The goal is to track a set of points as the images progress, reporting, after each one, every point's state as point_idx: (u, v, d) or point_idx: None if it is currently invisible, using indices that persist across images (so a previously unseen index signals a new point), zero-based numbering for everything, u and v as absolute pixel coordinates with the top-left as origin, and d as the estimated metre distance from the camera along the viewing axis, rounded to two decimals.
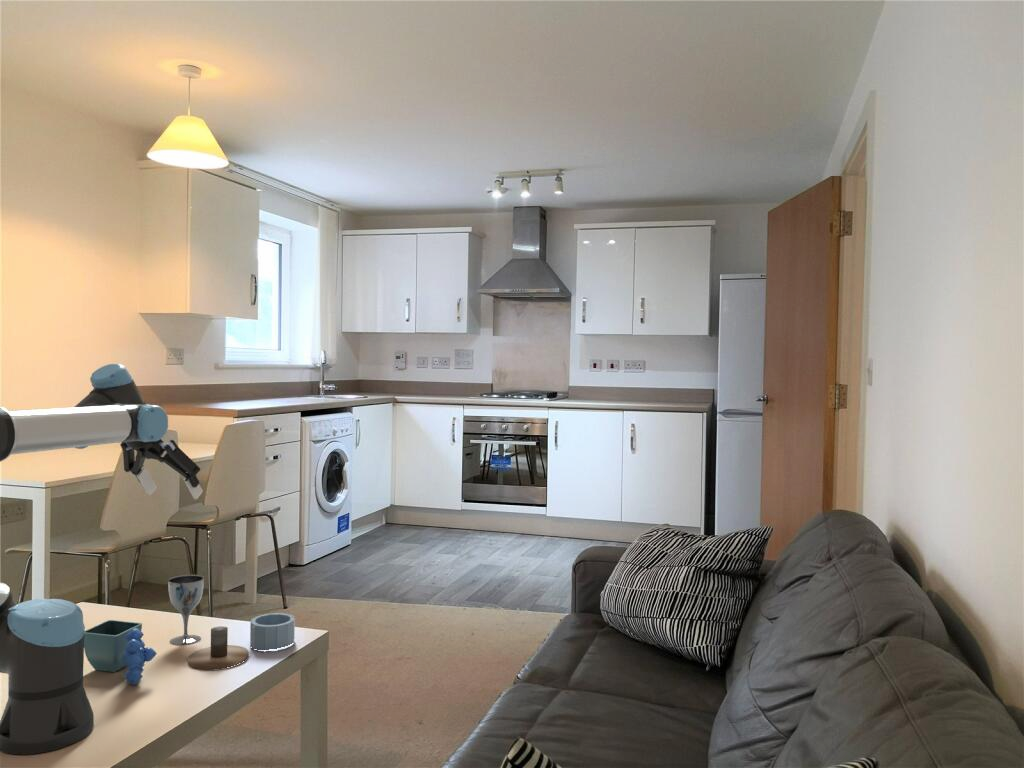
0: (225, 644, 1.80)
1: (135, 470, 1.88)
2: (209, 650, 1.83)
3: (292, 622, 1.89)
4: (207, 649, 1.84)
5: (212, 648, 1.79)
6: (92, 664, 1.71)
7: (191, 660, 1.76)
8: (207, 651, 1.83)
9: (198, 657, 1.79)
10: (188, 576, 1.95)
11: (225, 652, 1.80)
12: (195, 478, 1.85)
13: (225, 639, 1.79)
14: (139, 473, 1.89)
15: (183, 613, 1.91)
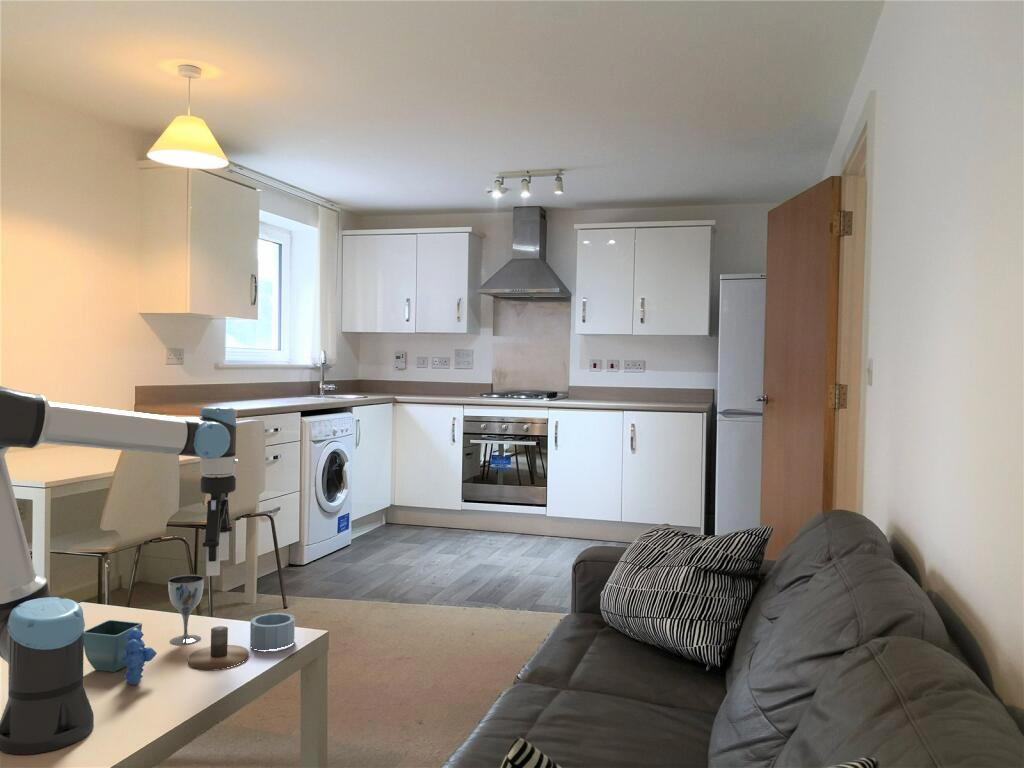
0: (225, 644, 1.80)
1: None
2: (209, 650, 1.83)
3: (292, 622, 1.89)
4: (207, 649, 1.84)
5: (212, 648, 1.79)
6: (92, 664, 1.71)
7: (191, 660, 1.77)
8: (207, 650, 1.83)
9: (198, 656, 1.79)
10: (188, 576, 1.95)
11: (225, 652, 1.80)
12: (213, 552, 1.72)
13: (225, 639, 1.79)
14: (219, 532, 1.86)
15: (183, 613, 1.91)
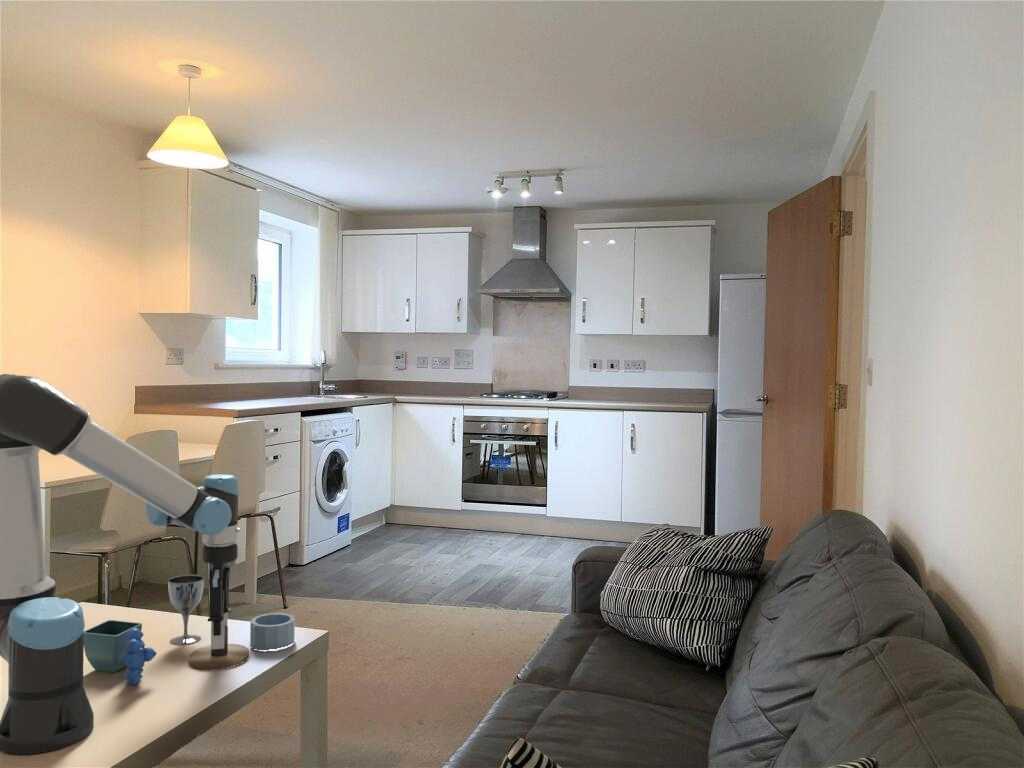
0: (225, 643, 1.80)
1: None
2: (210, 648, 1.83)
3: (292, 622, 1.89)
4: (208, 647, 1.84)
5: None
6: (92, 664, 1.71)
7: (191, 658, 1.77)
8: (207, 649, 1.83)
9: (199, 655, 1.79)
10: (187, 576, 1.95)
11: (225, 651, 1.80)
12: (217, 626, 1.77)
13: (225, 638, 1.80)
14: None
15: (183, 613, 1.91)
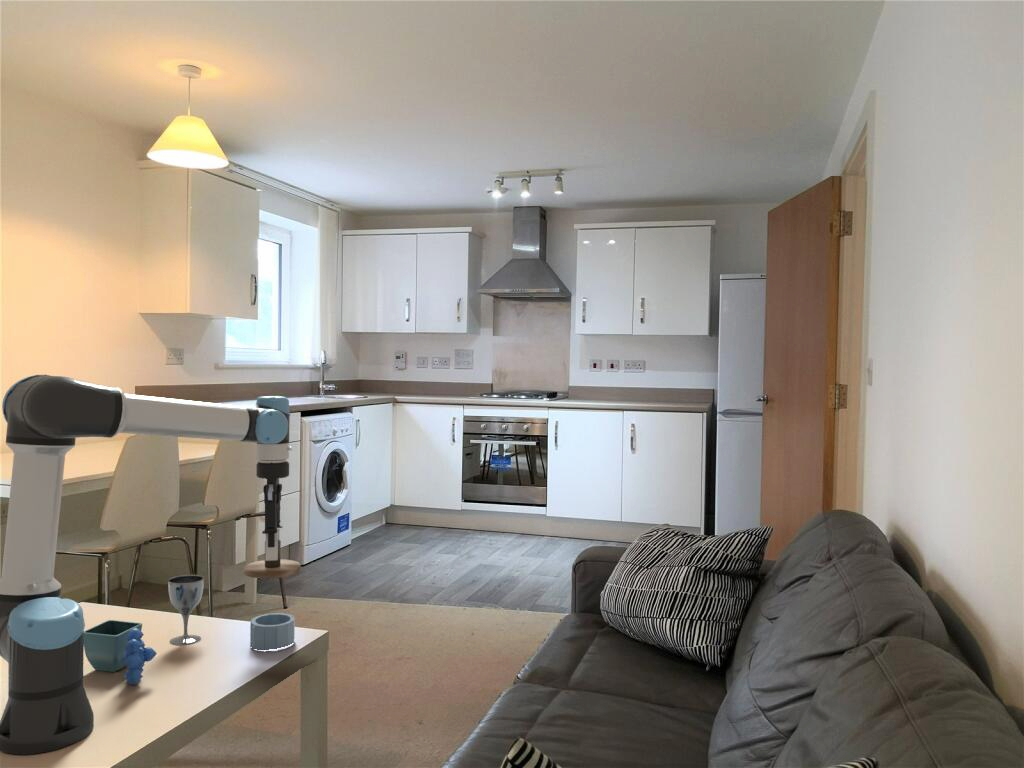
0: (278, 555, 1.89)
1: None
2: (263, 562, 1.92)
3: (292, 622, 1.89)
4: (261, 562, 1.93)
5: None
6: (92, 664, 1.71)
7: (247, 569, 1.86)
8: (261, 563, 1.92)
9: (253, 567, 1.88)
10: (188, 576, 1.95)
11: (278, 563, 1.89)
12: (271, 538, 1.86)
13: (278, 550, 1.89)
14: None
15: (183, 613, 1.91)
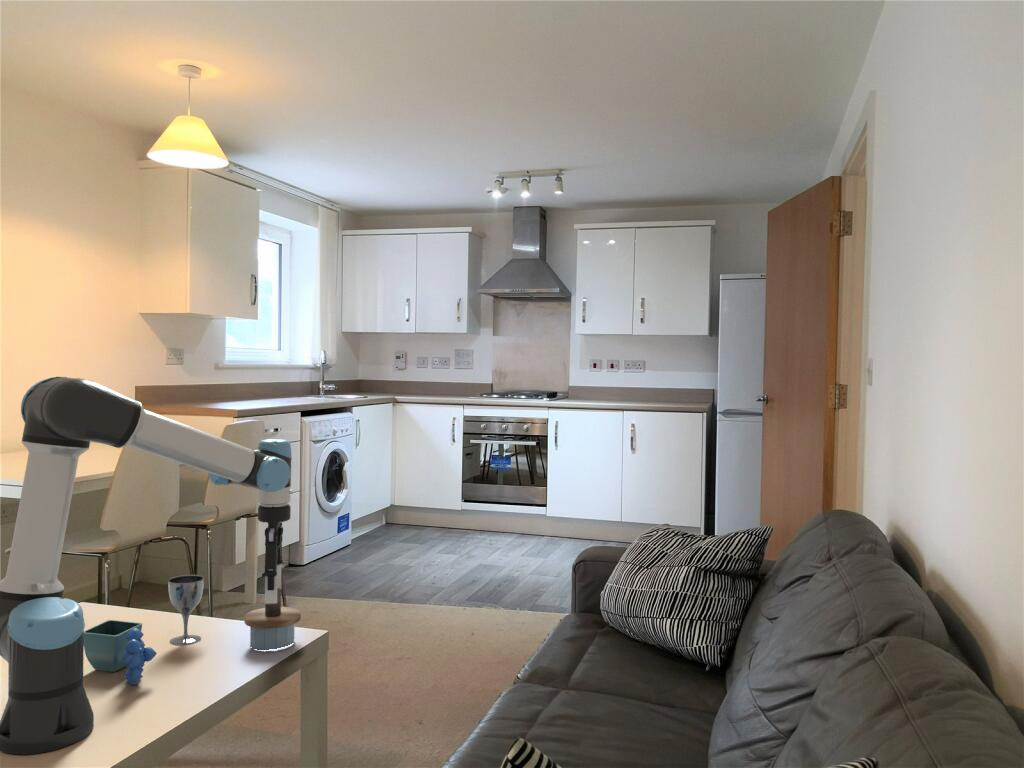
0: (279, 604, 1.89)
1: None
2: (263, 610, 1.93)
3: None
4: (261, 609, 1.93)
5: (267, 608, 1.88)
6: (92, 664, 1.71)
7: (247, 618, 1.86)
8: (261, 611, 1.92)
9: (254, 616, 1.89)
10: (188, 576, 1.95)
11: (279, 612, 1.89)
12: (271, 581, 1.84)
13: (279, 599, 1.89)
14: None
15: (183, 613, 1.91)
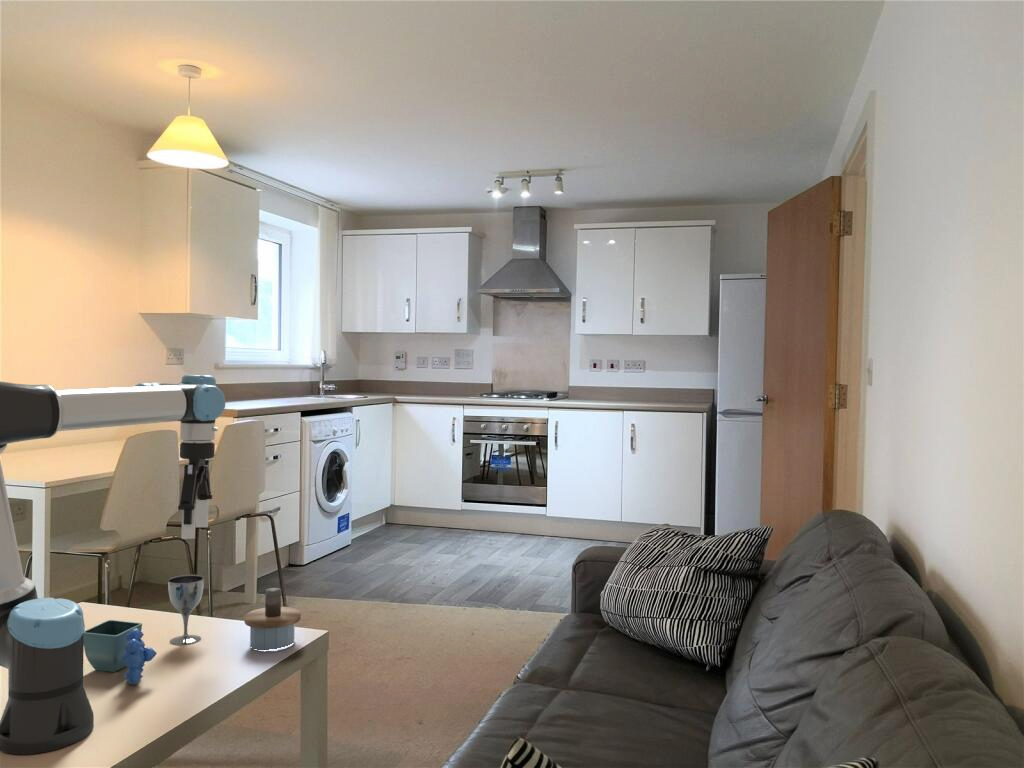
0: (279, 604, 1.89)
1: None
2: (263, 610, 1.93)
3: None
4: (261, 609, 1.93)
5: (267, 608, 1.88)
6: (92, 664, 1.71)
7: (247, 618, 1.86)
8: (261, 611, 1.92)
9: (254, 616, 1.89)
10: (187, 576, 1.95)
11: (279, 612, 1.89)
12: (188, 515, 1.75)
13: (279, 599, 1.89)
14: (199, 500, 1.90)
15: (183, 613, 1.91)
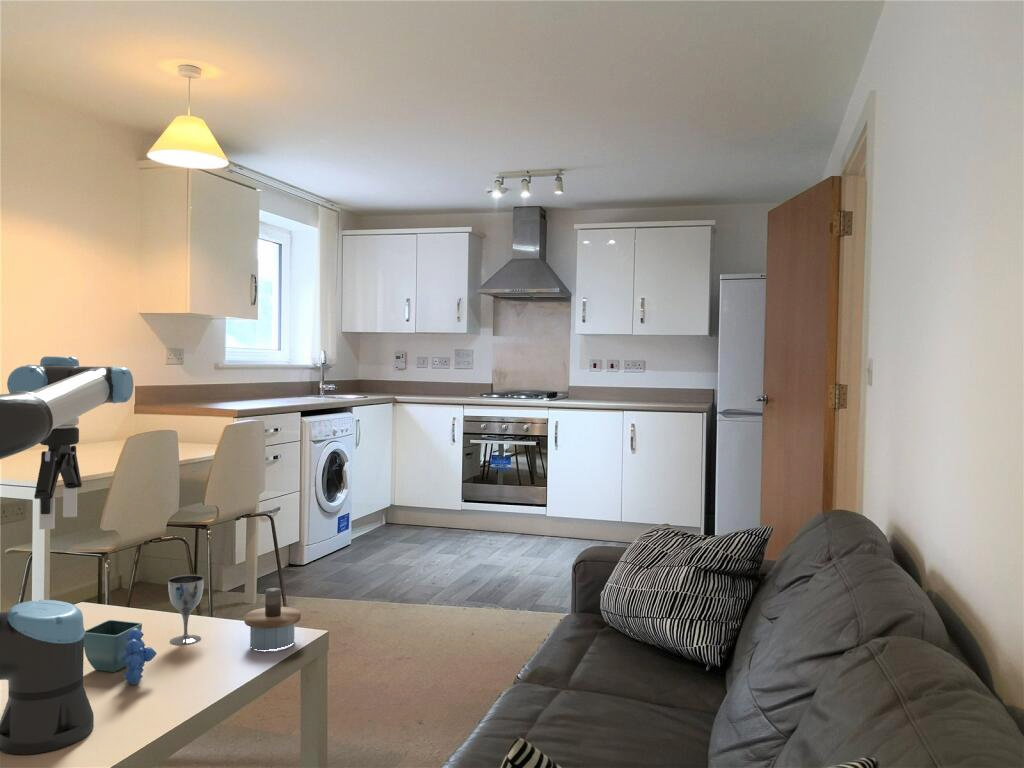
0: (279, 604, 1.89)
1: None
2: (263, 610, 1.93)
3: None
4: (261, 609, 1.93)
5: (267, 608, 1.88)
6: (92, 664, 1.71)
7: (247, 618, 1.86)
8: (261, 611, 1.92)
9: (254, 616, 1.89)
10: (188, 576, 1.95)
11: (279, 612, 1.89)
12: (45, 504, 1.66)
13: (279, 599, 1.89)
14: (67, 488, 1.80)
15: (183, 613, 1.91)
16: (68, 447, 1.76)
